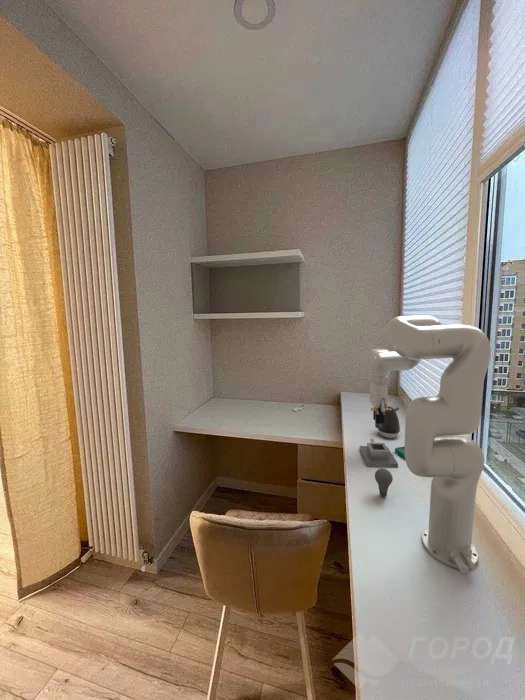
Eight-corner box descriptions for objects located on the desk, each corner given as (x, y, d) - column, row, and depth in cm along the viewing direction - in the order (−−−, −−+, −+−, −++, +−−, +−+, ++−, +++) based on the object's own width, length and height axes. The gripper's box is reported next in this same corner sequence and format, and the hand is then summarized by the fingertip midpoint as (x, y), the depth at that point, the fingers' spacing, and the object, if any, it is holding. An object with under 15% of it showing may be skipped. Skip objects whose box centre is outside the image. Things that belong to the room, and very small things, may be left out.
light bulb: (392, 493, 97) (393, 467, 95) (391, 503, 92) (392, 476, 91) (375, 489, 99) (375, 463, 98) (373, 499, 95) (374, 472, 93)
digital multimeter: (435, 456, 119) (436, 450, 119) (405, 461, 117) (405, 455, 116) (422, 448, 127) (423, 442, 126) (393, 453, 124) (394, 446, 123)
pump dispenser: (404, 439, 135) (405, 409, 132) (384, 441, 133) (385, 411, 131) (391, 430, 145) (392, 402, 142) (373, 432, 143) (373, 404, 141)
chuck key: (371, 428, 116) (371, 407, 115) (369, 425, 119) (370, 405, 118) (389, 428, 115) (389, 407, 114) (386, 425, 118) (387, 405, 117)
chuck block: (398, 467, 112) (398, 456, 111) (367, 466, 114) (367, 455, 113) (385, 447, 128) (385, 436, 127) (358, 446, 130) (358, 436, 129)
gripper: (365, 374, 123) (364, 414, 125) (375, 384, 107) (374, 429, 109) (382, 374, 122) (382, 414, 124) (395, 384, 106) (394, 430, 108)
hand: (378, 421), depth 117 cm, fingers closed on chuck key, 2 cm apart
